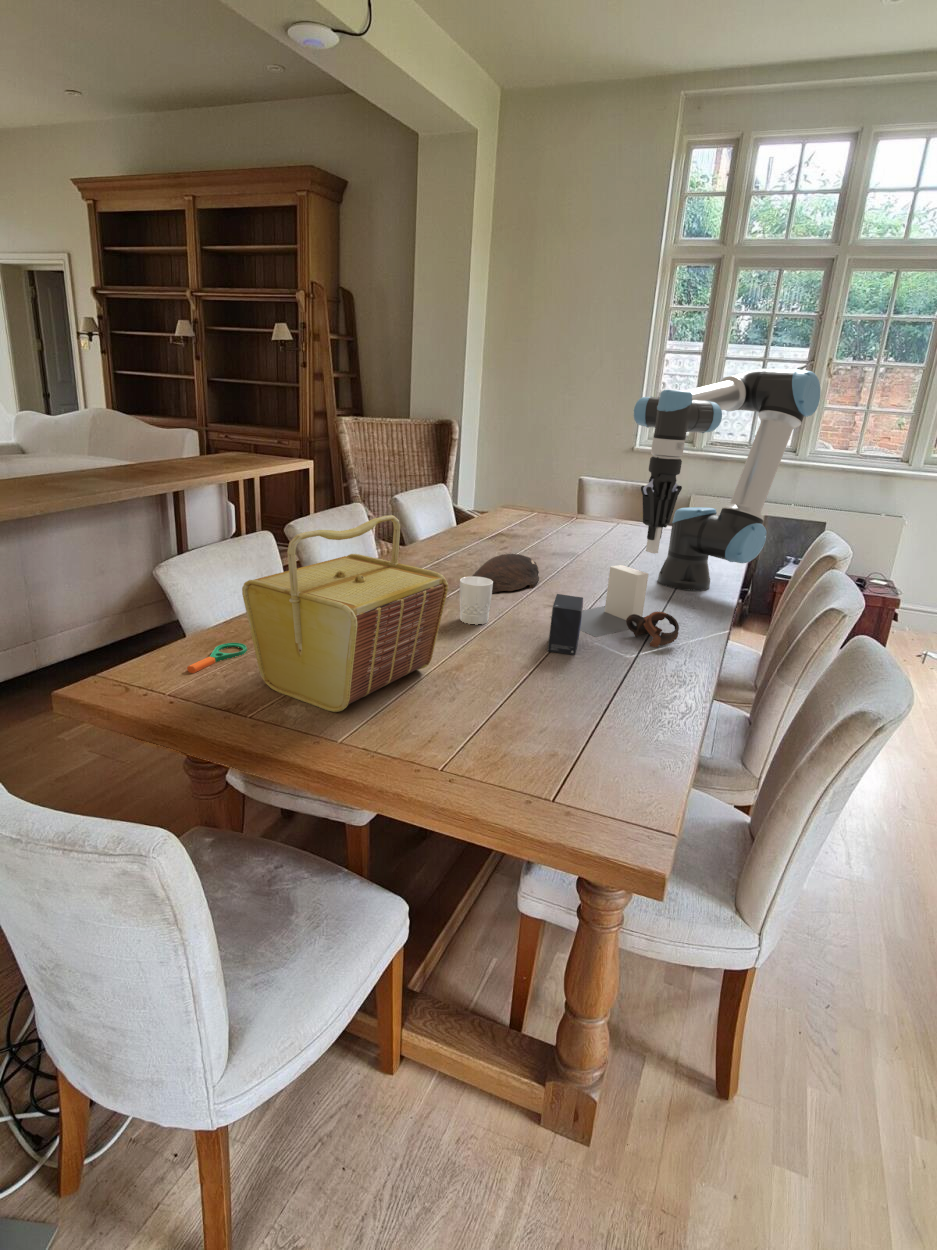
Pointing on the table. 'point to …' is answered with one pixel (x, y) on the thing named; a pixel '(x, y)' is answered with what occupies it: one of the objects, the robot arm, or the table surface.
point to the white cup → (475, 599)
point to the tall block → (626, 591)
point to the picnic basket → (343, 622)
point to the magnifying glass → (216, 656)
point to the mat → (601, 622)
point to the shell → (509, 572)
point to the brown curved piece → (653, 627)
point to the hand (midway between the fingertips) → (651, 552)
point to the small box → (565, 624)
